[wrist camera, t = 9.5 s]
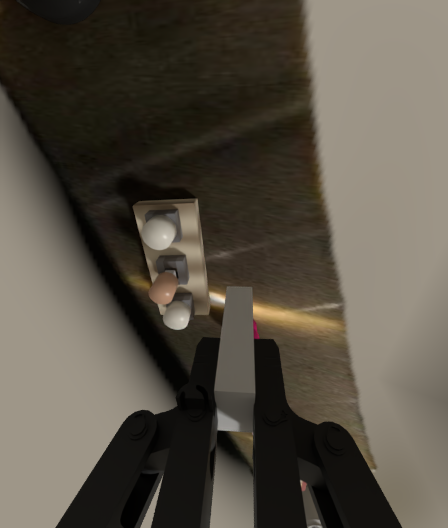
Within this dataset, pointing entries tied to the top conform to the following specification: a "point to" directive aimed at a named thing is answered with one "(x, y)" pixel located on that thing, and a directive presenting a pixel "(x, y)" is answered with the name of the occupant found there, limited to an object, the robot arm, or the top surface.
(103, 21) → the top surface
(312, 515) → the can
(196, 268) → the knob board
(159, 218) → the knob
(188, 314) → the knob
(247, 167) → the top surface
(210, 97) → the top surface
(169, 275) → the middle pink knob
